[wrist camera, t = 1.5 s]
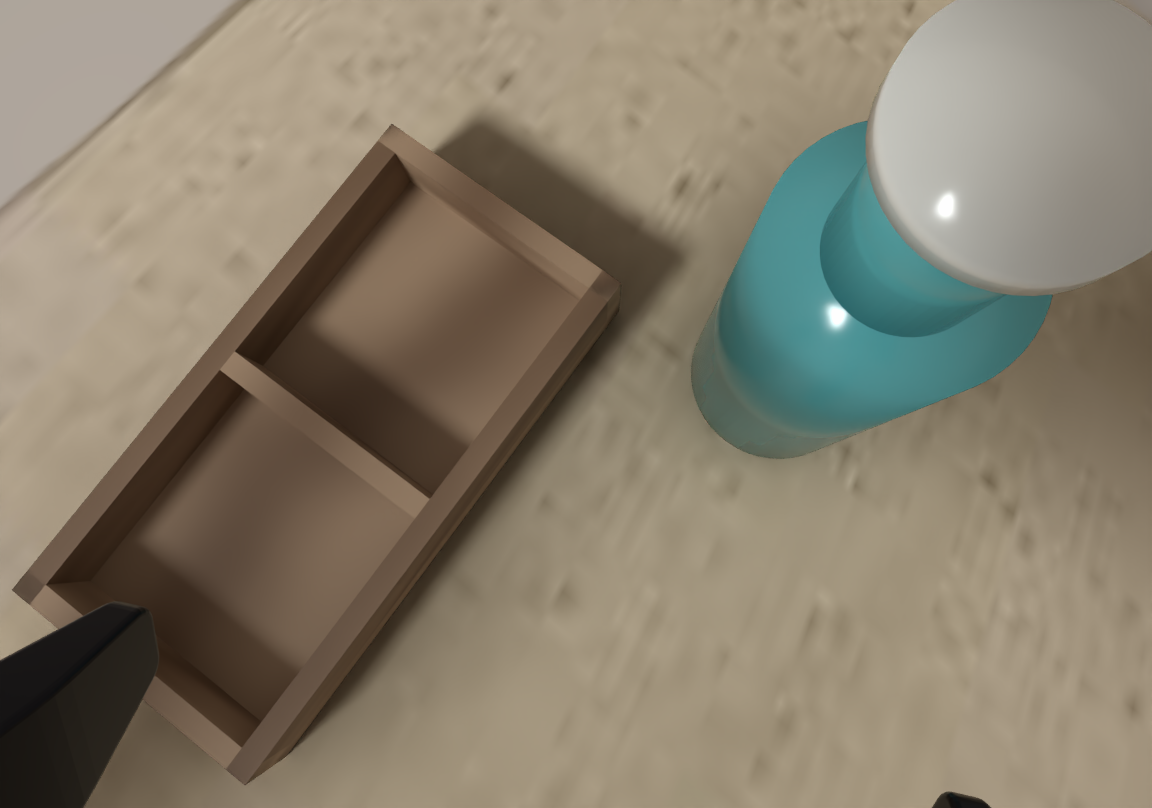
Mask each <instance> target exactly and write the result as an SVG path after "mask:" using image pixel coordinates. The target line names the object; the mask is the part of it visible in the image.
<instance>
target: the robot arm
mask: <svg viewBox="0 0 1152 808" xmlns="http://www.w3.org/2000/svg"><path fill="white" fill-rule="evenodd" d="M158 664H159V650H158V645H157V639H156V633H155V628H154V622H153V617H152V613H151V612H150V611H149V610H148V609H147V608H146V607H143V606H139V605H134V604H130V603H125V602H121V601H114V602H110V603H107V604H105V605H102V606H101V607H99V608H97V609H95V610H93V611H91V612H89V613H88V614H86V615H84V616H82V617H80V618H78V619H76V620H75V621H73V622H71V623H69V624H67V625H65V626H63V627H61V628H60V629H58V630H56V631H54V632H52V633H50V634H48V635H47V636H45V637H43V638H41V639H39V640H37V641H35V642H33V643H32V644H30V645H28V646H26V647H24V648H22V649H20V650H19V651H17V652H15V653H13V654H11V655H9V656H7V657H5V658H4V659H2V660H0V808H83V807H84V806H85V804H86V802H87V801H88V799H89V797H90V795H91V794H92V792H93V790H94V788H95V787H96V785H97V783H98V781H99V779H100V778H101V776H102V774H103V772H104V770H105V768H106V766H107V764H108V763H109V761H110V759H111V757H112V755H113V753H114V751H115V749H116V748H117V746H118V744H119V742H120V740H121V738H122V736H123V735H124V733H125V731H126V729H127V727H128V725H129V723H130V721H131V720H132V718H133V716H134V714H135V712H136V710H137V708H138V706H139V705H140V703H141V701H142V699H143V697H144V695H145V693H146V692H147V690H148V688H149V686H150V684H151V682H152V680H153V678H154V676H155V674H156V671H157V668H158ZM932 808H991V807H990V806H989V805H988V804H987V803H986V802H984V801H983V800H981V799H979V798H976V797H972V796H968V795H963V794H959V793H955V792H945V793H943V794H941V795H940V796H939V798H938V799H937V801H936V802H935V804H934V805H933V807H932Z"/></svg>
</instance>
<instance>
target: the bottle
mask: <svg viewBox="0 0 1152 808" xmlns="http://www.w3.org/2000/svg"><path fill="white" fill-rule="evenodd" d="M1151 251H1152V25H1151V24H1149V23H1148V22H1147V21H1146V20H1145V19H1143V18H1142V17H1140V16H1139V15H1137V14H1136V13H1134V12H1133V11H1131V10H1130V9H1128V8H1127V7H1125V6H1123V5H1121V4H1119V3H1117V2H1115V1H1114V0H956V1H954V2H952V3H950V4H949V5H947V6H946V7H944V8H943V9H941V10H940V11H938V12H937V13H935V14H934V15H933V16H932V17H931V18H930V19H928V20H927V21H926V22H925V23H924V24H923V25H922V26H921V27H920V28H919V29H918V30H917V31H916V32H915V34H914V35H913V36H912V37H911V38H910V39H909V41H908V42H907V44H906V45H905V47H904V48H903V50H902V52H901V53H900V55H899V56H898V58H897V60H896V61H895V63H894V64H893V66H892V68H891V69H890V71H889V72H888V74H887V76H886V77H885V79H884V80H883V82H882V84H881V85H880V87H879V89H878V92H877V94H876V96H875V98H874V101H873V103H872V107H871V110H870V114H869V118H868V121H864V122H859V123H856V124H853V125H850V126H847V127H844V128H842V129H839V130H837V131H835V132H833V133H831V134H829V135H827V136H825V137H823V138H822V139H820V140H819V141H817V142H816V143H815V144H813V145H812V146H810V147H809V148H807V149H806V150H805V151H804V152H803V153H802V154H801V155H800V156H799V157H797V158H796V159H795V160H794V161H793V163H792V164H791V165H790V166H789V167H788V169H787V170H786V171H785V172H784V173H783V175H782V176H781V178H780V180H779V181H778V183H777V184H776V186H775V187H774V189H773V191H772V193H771V195H770V197H769V199H768V201H767V203H766V205H765V207H764V209H763V211H762V213H761V215H760V217H759V219H758V221H757V223H756V225H755V227H754V229H753V231H752V233H751V235H750V237H749V239H748V241H747V243H746V245H745V247H744V249H743V251H742V253H741V255H740V257H739V259H738V261H737V263H736V265H735V267H734V269H733V271H732V273H731V275H730V277H729V279H728V281H727V283H726V285H725V287H724V289H723V291H722V293H721V295H720V297H719V299H718V301H717V303H716V305H715V307H714V309H713V311H712V313H711V315H710V317H709V319H708V321H707V323H706V325H705V328H704V330H703V332H702V334H701V336H700V338H699V340H698V342H697V344H696V347H695V351H694V354H693V359H692V365H691V380H692V388H693V392H694V396H695V399H696V402H697V404H698V407H699V409H700V411H701V413H702V415H703V416H704V418H705V420H706V421H707V422H708V424H709V425H710V426H711V428H712V429H713V430H714V431H715V432H716V433H717V434H718V435H719V436H720V437H722V438H723V439H724V440H725V441H727V442H728V443H730V444H731V445H733V446H734V447H736V448H738V449H740V450H742V451H744V452H747V453H749V454H753V455H756V456H760V457H765V458H776V459H784V458H793V457H798V456H802V455H805V454H808V453H811V452H814V451H816V450H819V449H821V448H823V447H826V446H828V445H831V444H833V443H836V442H838V441H841V440H843V439H846V438H848V437H851V436H853V435H856V434H858V433H861V432H863V431H866V430H868V429H871V428H873V427H876V426H878V425H881V424H883V423H886V422H888V421H891V420H893V419H896V418H898V417H901V416H903V415H906V414H908V413H911V412H913V411H916V410H918V409H921V408H923V407H925V406H928V405H930V404H933V403H935V402H938V401H940V400H943V399H945V398H948V397H950V396H953V395H955V394H958V393H960V392H963V391H965V390H968V389H970V388H973V387H975V386H977V385H979V384H981V383H983V382H985V381H987V380H989V379H991V378H993V377H994V376H996V375H997V374H998V373H1000V372H1001V371H1003V370H1004V369H1005V368H1007V367H1008V366H1009V365H1010V364H1011V363H1012V362H1014V361H1015V360H1016V359H1017V358H1018V357H1019V356H1020V355H1021V354H1022V353H1023V352H1024V350H1025V349H1026V348H1027V347H1028V345H1029V344H1030V343H1031V341H1032V340H1033V339H1034V337H1035V336H1036V334H1037V332H1038V330H1039V329H1040V327H1041V325H1042V323H1043V322H1044V319H1045V317H1046V314H1047V311H1048V309H1049V306H1050V303H1051V299H1052V295H1053V294H1057V293H1062V292H1066V291H1071V290H1075V289H1078V288H1080V287H1083V286H1086V285H1089V284H1091V283H1094V282H1096V281H1098V280H1099V279H1101V278H1103V277H1105V276H1107V275H1109V274H1111V273H1113V272H1115V271H1117V270H1119V269H1121V268H1123V267H1125V266H1127V265H1128V264H1130V263H1132V262H1134V261H1136V260H1138V259H1140V258H1142V257H1144V256H1145V255H1146V254H1148V253H1149V252H1151Z"/></svg>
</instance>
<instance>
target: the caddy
mask: <svg viewBox="0 0 1152 808" xmlns="http://www.w3.org/2000/svg"><path fill="white" fill-rule="evenodd" d="M620 294H621V282H619V281H618V280H616V279H615V278H613V277H612V276H610V275H609V274H608V273H606V272H605V271H603V270H602V269H600V268H599V267H597V266H596V265H595V264H593V263H592V262H590V261H589V260H587V259H586V258H585V257H583V256H582V255H580V254H579V253H577V252H576V251H574V250H573V249H572V248H570V247H569V246H567V245H566V244H564V243H563V242H561V241H560V240H559V239H557V238H556V237H554V236H553V235H551V234H550V233H548V232H547V231H546V230H544V229H543V228H541V227H540V226H538V225H537V224H536V223H534V222H533V221H531V220H530V219H528V218H527V217H525V216H524V215H523V214H521V213H520V212H518V211H517V210H515V209H514V208H512V207H511V206H510V205H508V204H507V203H505V202H504V201H502V200H501V199H499V198H498V197H497V196H495V195H494V194H492V193H491V192H489V191H488V190H487V189H485V188H484V187H482V186H481V185H479V184H478V183H476V182H475V181H474V180H472V179H471V178H469V177H468V176H466V175H465V174H463V173H462V172H461V171H459V170H458V169H456V168H455V167H453V166H452V165H450V164H449V163H448V162H446V161H445V160H443V159H442V158H440V157H439V156H438V155H436V154H435V153H433V152H432V151H430V150H429V149H427V148H426V147H425V146H423V145H422V144H420V143H419V142H417V141H416V140H414V139H413V138H412V137H410V136H409V135H407V134H406V133H404V132H403V131H401V130H400V129H399V128H397V127H396V126H394V125H393V124H391V125H390V126H389V128H388V129H387V130H386V131H385V133H384V134H383V135H382V136H381V137H380V139H379V140H378V141H377V142H376V144H375V145H374V146H373V147H372V149H371V150H370V151H369V152H368V153H367V155H366V156H365V157H364V158H363V160H362V161H361V162H360V163H359V164H358V166H357V167H356V168H355V169H354V171H353V172H352V173H351V174H350V176H349V177H348V178H347V179H346V180H345V182H344V183H343V184H342V185H341V187H340V188H339V189H338V190H337V191H336V193H335V194H334V195H333V196H332V198H331V199H330V200H329V201H328V203H327V204H326V205H325V206H324V207H323V209H322V210H321V211H320V212H319V214H318V215H317V216H316V217H315V218H314V220H313V221H312V222H311V223H310V225H309V226H308V227H307V228H306V230H305V231H304V232H303V233H302V234H301V236H300V237H299V238H298V239H297V241H296V242H295V243H294V244H293V246H292V247H291V248H290V249H289V250H288V252H287V253H286V254H285V255H284V257H283V258H282V259H281V260H280V261H279V263H278V264H277V265H276V266H275V268H274V269H273V270H272V271H271V273H270V274H269V275H268V276H267V277H266V279H265V280H264V281H263V282H262V284H261V285H260V286H259V287H258V288H257V290H256V291H255V292H254V293H253V295H252V296H251V297H250V298H249V300H248V301H247V302H246V303H245V304H244V306H243V307H242V308H241V309H240V311H239V312H238V313H237V314H236V315H235V317H234V318H233V319H232V320H231V322H230V323H229V324H228V325H227V327H226V328H225V329H224V330H223V331H222V333H221V334H220V335H219V336H218V338H217V339H216V340H215V341H214V342H213V344H212V345H211V346H210V347H209V349H208V350H207V351H206V352H205V354H204V355H203V356H202V357H201V358H200V360H199V361H198V362H197V363H196V365H195V366H194V367H193V368H192V369H191V371H190V372H189V373H188V374H187V376H186V377H185V378H184V379H183V381H182V382H181V383H180V384H179V385H178V387H177V388H176V389H175V390H174V392H173V393H172V394H171V395H170V396H169V398H168V399H167V400H166V401H165V403H164V404H163V405H162V406H161V408H160V409H159V410H158V411H157V412H156V414H155V415H154V416H153V417H152V419H151V420H150V421H149V422H148V423H147V425H146V426H145V427H144V428H143V430H142V431H141V432H140V433H139V435H138V436H137V437H136V438H135V439H134V441H133V442H132V443H131V444H130V446H129V447H128V448H127V449H126V450H125V452H124V453H123V454H122V455H121V457H120V458H119V459H118V460H117V462H116V463H115V464H114V465H113V466H112V468H111V469H110V470H109V471H108V473H107V474H106V475H105V476H104V477H103V479H102V480H101V481H100V482H99V484H98V485H97V486H96V487H95V489H94V490H93V491H92V492H91V493H90V495H89V496H88V497H87V498H86V500H85V501H84V502H83V503H82V504H81V506H80V507H79V508H78V509H77V511H76V512H75V513H74V514H73V516H72V517H71V518H70V519H69V520H68V522H67V523H66V524H65V525H64V527H63V528H62V529H61V530H60V532H59V533H58V534H57V535H56V536H55V538H54V539H53V540H52V541H51V543H50V544H49V545H48V546H47V547H46V549H45V550H44V551H43V552H42V554H41V555H40V556H39V557H38V559H37V560H36V561H35V562H34V563H33V565H32V566H31V567H30V568H29V570H28V571H27V572H26V573H25V574H24V576H23V577H22V578H21V579H20V581H19V582H18V583H17V584H16V586H15V587H14V588H13V589H12V591H14V592H15V593H16V594H17V595H18V596H20V597H21V598H22V599H23V600H24V601H26V602H27V603H28V604H29V605H30V606H32V607H33V608H34V609H35V610H36V611H38V612H39V613H40V614H41V615H42V616H43V617H45V618H46V619H47V620H48V621H49V622H51V623H52V624H53V625H54V626H55V627H57V628H58V629H60V628H61V627H63V626H65V625H67V624H69V623H71V622H73V621H75V620H76V619H78V618H80V617H82V616H84V615H86V614H88V613H89V612H91V611H93V610H95V609H97V608H99V607H101V606H102V605H105V604H107V603H110V602H114V601H121V602H125V603H130V604H134V605H139V606H143V607H146V608H147V609H148V610H149V611H150V612H151V613H152V617H153V622H154V628H155V633H156V639H157V645H158V650H159V664H158V668H157V671H156V674H155V676H154V678H153V680H152V682H151V684H150V686H149V688H148V690H147V692H146V693H145V695H144V697H143V699H142V700H144V701H145V702H146V703H147V704H148V705H150V706H151V707H152V708H153V709H154V710H156V711H157V712H158V713H159V714H160V715H162V716H163V717H164V718H165V719H166V720H168V721H169V722H170V723H171V724H172V725H174V726H175V727H176V728H177V729H178V730H179V731H181V732H182V733H183V734H184V735H185V736H187V737H188V738H189V739H190V740H191V741H193V742H194V743H195V744H196V745H197V746H199V747H200V748H201V749H202V750H203V751H205V752H206V753H207V754H208V755H209V756H211V757H212V758H213V759H214V760H215V761H216V762H218V763H219V764H220V765H221V766H222V767H224V768H225V769H226V770H227V771H228V772H230V773H231V774H232V775H233V776H234V777H236V778H237V779H238V780H239V781H240V782H242V783H243V784H244V785H246V784H248V783H249V782H250V781H252V780H253V779H255V778H256V777H258V776H259V775H260V774H262V773H263V772H265V771H266V770H268V769H269V768H270V767H272V766H273V765H275V764H276V763H278V762H279V761H280V760H282V759H283V758H285V757H286V756H287V755H288V753H289V752H290V751H291V749H292V748H293V747H294V745H295V744H296V743H297V741H298V740H299V739H300V737H301V736H302V735H303V733H304V732H305V731H306V729H307V728H308V727H309V725H310V724H311V723H312V721H313V720H314V719H315V717H316V716H317V715H318V713H319V712H320V711H321V709H322V708H323V707H324V705H325V704H326V703H327V701H328V700H329V699H330V697H331V696H332V695H333V693H334V692H335V690H336V689H337V688H338V686H339V685H340V684H341V682H342V681H343V680H344V678H345V677H346V676H347V674H348V673H349V672H350V670H351V669H352V668H353V666H354V665H355V664H356V662H357V661H358V660H359V658H360V657H361V656H362V654H363V653H364V652H365V650H366V649H367V648H368V646H369V645H370V644H371V642H372V641H373V640H374V638H375V637H376V636H377V634H378V633H379V632H380V630H381V629H382V628H383V626H384V625H385V624H386V622H387V621H388V620H389V618H390V617H391V615H392V614H393V613H394V611H395V610H396V609H397V607H398V606H399V605H400V603H401V602H402V601H403V599H404V598H405V597H406V595H407V594H408V593H409V591H410V590H411V589H412V587H413V586H414V585H415V583H416V582H417V581H418V579H419V578H420V577H421V575H422V574H423V573H424V571H425V570H426V569H427V567H428V566H429V565H430V563H431V562H432V561H433V559H434V558H435V557H436V555H437V554H438V553H439V551H440V550H441V549H442V547H443V546H444V544H445V543H446V542H447V540H448V539H449V538H450V536H451V535H452V534H453V532H454V531H455V530H456V528H457V527H458V526H459V524H460V523H461V522H462V520H463V519H464V518H465V516H466V515H467V514H468V512H469V511H470V510H471V508H472V507H473V506H474V504H475V503H476V502H477V500H478V499H479V498H480V496H481V495H482V494H483V492H484V491H485V490H486V488H487V487H488V486H489V484H490V483H491V482H492V480H493V479H494V478H495V476H496V475H497V473H498V472H499V471H500V469H501V468H502V467H503V465H504V464H505V463H506V461H507V460H508V459H509V457H510V456H511V455H512V453H513V452H514V451H515V449H516V448H517V447H518V445H519V444H520V443H521V441H522V440H523V439H524V437H525V436H526V435H527V433H528V432H529V431H530V429H531V428H532V427H533V425H534V424H535V423H536V421H537V420H538V419H539V417H540V416H541V415H542V413H543V412H544V411H545V409H546V408H547V407H548V405H549V404H550V403H551V401H552V400H553V398H554V397H555V396H556V394H557V393H558V392H559V390H560V389H561V388H562V386H563V385H564V384H565V382H566V381H567V380H568V378H569V377H570V376H571V374H572V373H573V372H574V370H575V369H576V368H577V366H578V365H579V364H580V362H581V361H582V360H583V358H584V357H585V356H586V354H587V353H588V352H589V350H590V349H591V348H592V346H593V345H594V344H595V342H596V341H597V340H598V338H599V337H600V336H601V334H602V333H603V332H604V330H605V329H606V327H607V326H608V325H609V323H610V322H611V321H612V319H613V318H614V317H615V315H616V314H617V313H618V311H619V305H620Z"/></svg>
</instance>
